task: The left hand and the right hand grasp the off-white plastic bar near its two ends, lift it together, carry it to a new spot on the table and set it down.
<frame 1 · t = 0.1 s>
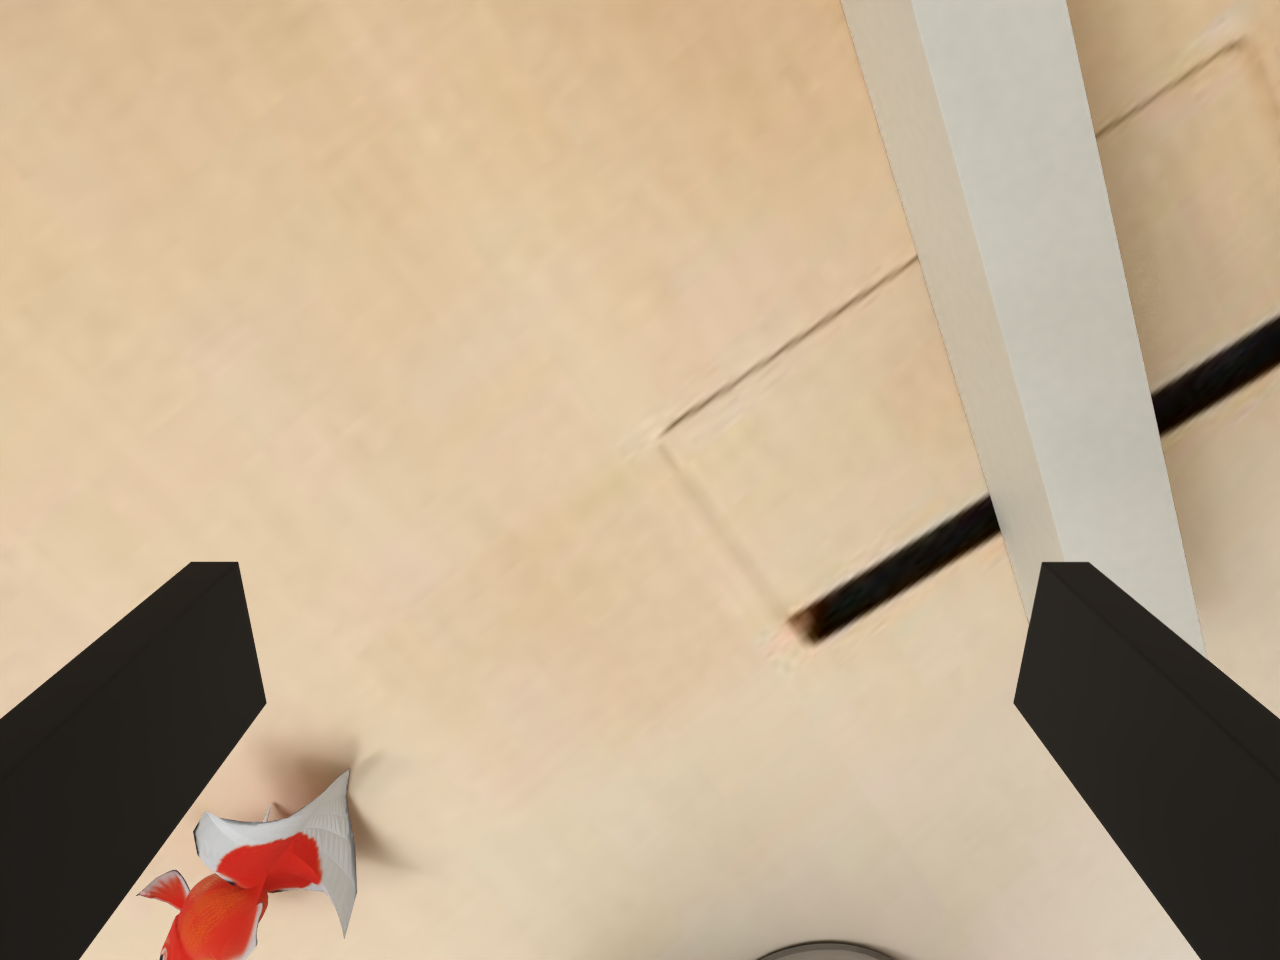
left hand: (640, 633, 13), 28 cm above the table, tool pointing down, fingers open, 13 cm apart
fish: (284, 820, 50), on the table
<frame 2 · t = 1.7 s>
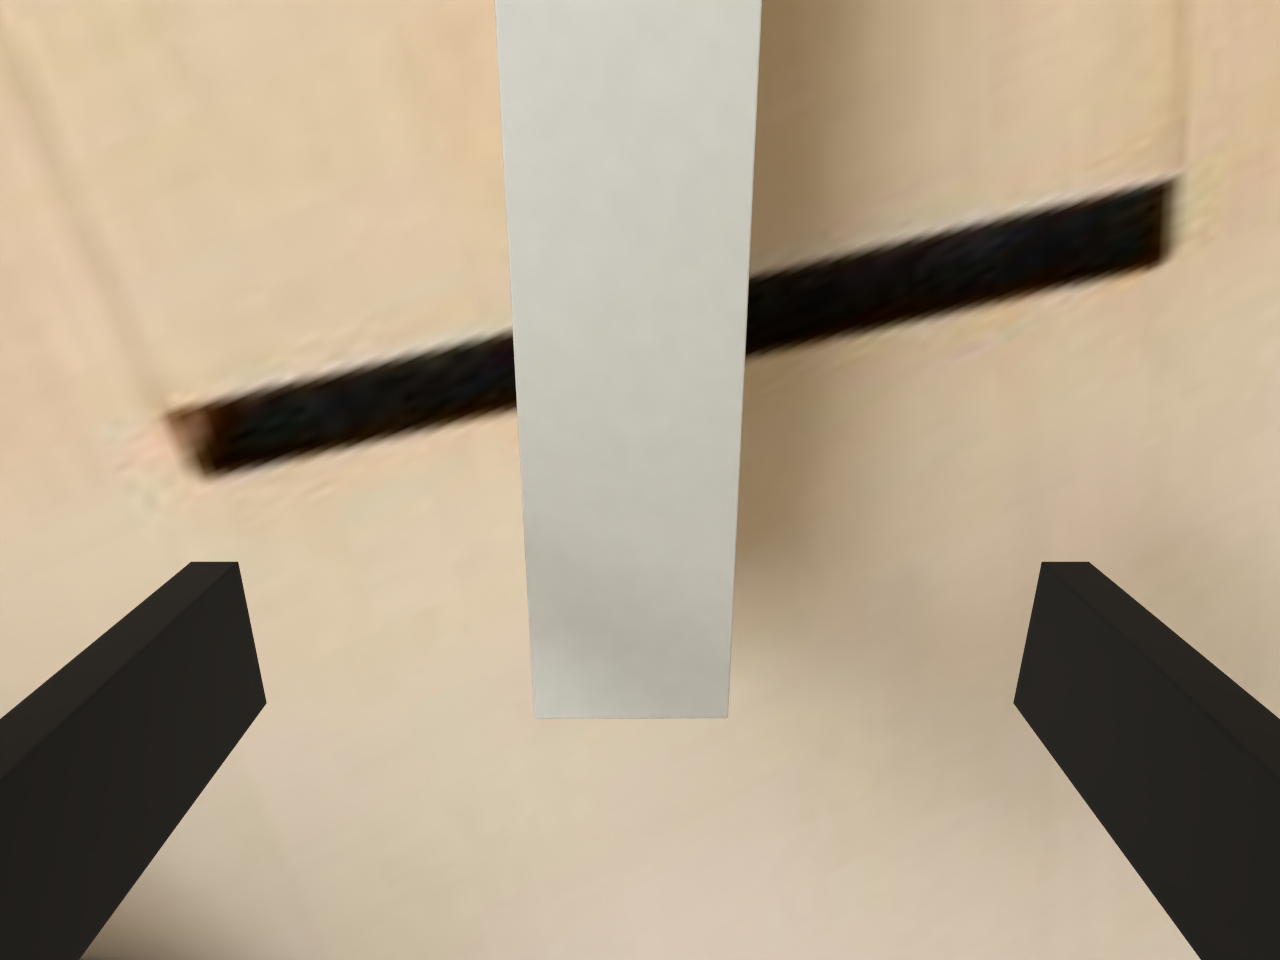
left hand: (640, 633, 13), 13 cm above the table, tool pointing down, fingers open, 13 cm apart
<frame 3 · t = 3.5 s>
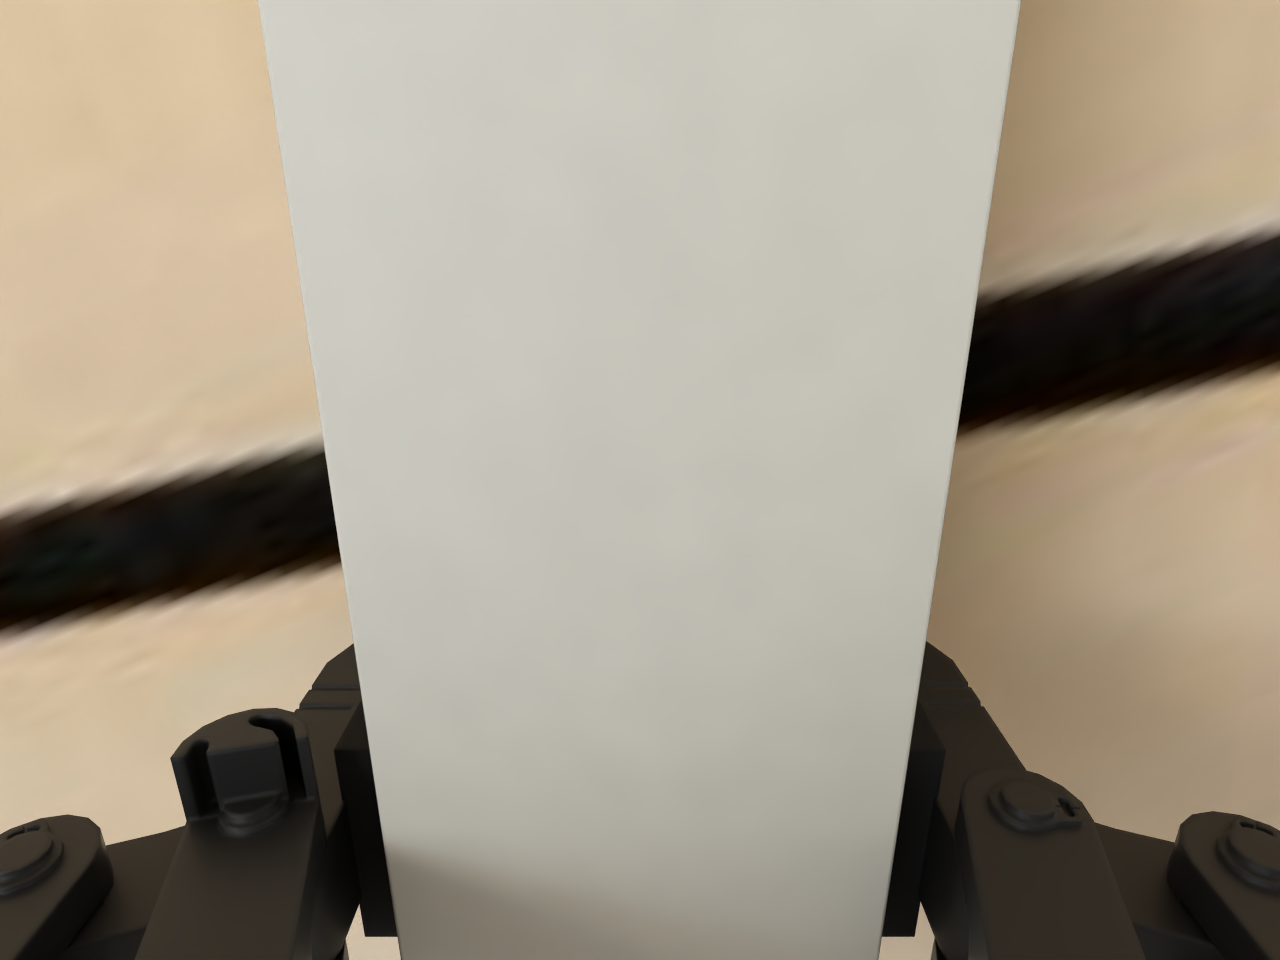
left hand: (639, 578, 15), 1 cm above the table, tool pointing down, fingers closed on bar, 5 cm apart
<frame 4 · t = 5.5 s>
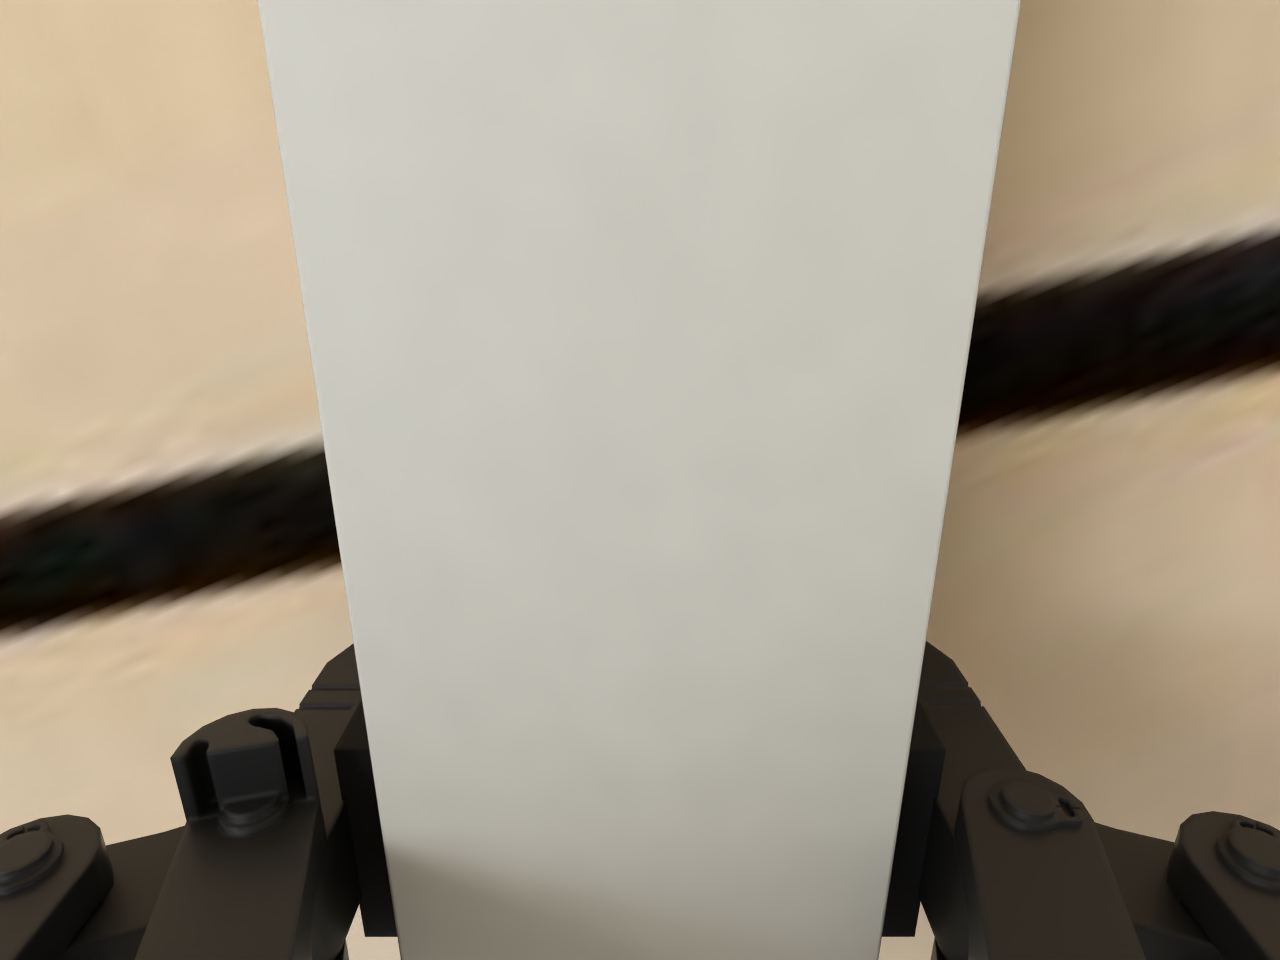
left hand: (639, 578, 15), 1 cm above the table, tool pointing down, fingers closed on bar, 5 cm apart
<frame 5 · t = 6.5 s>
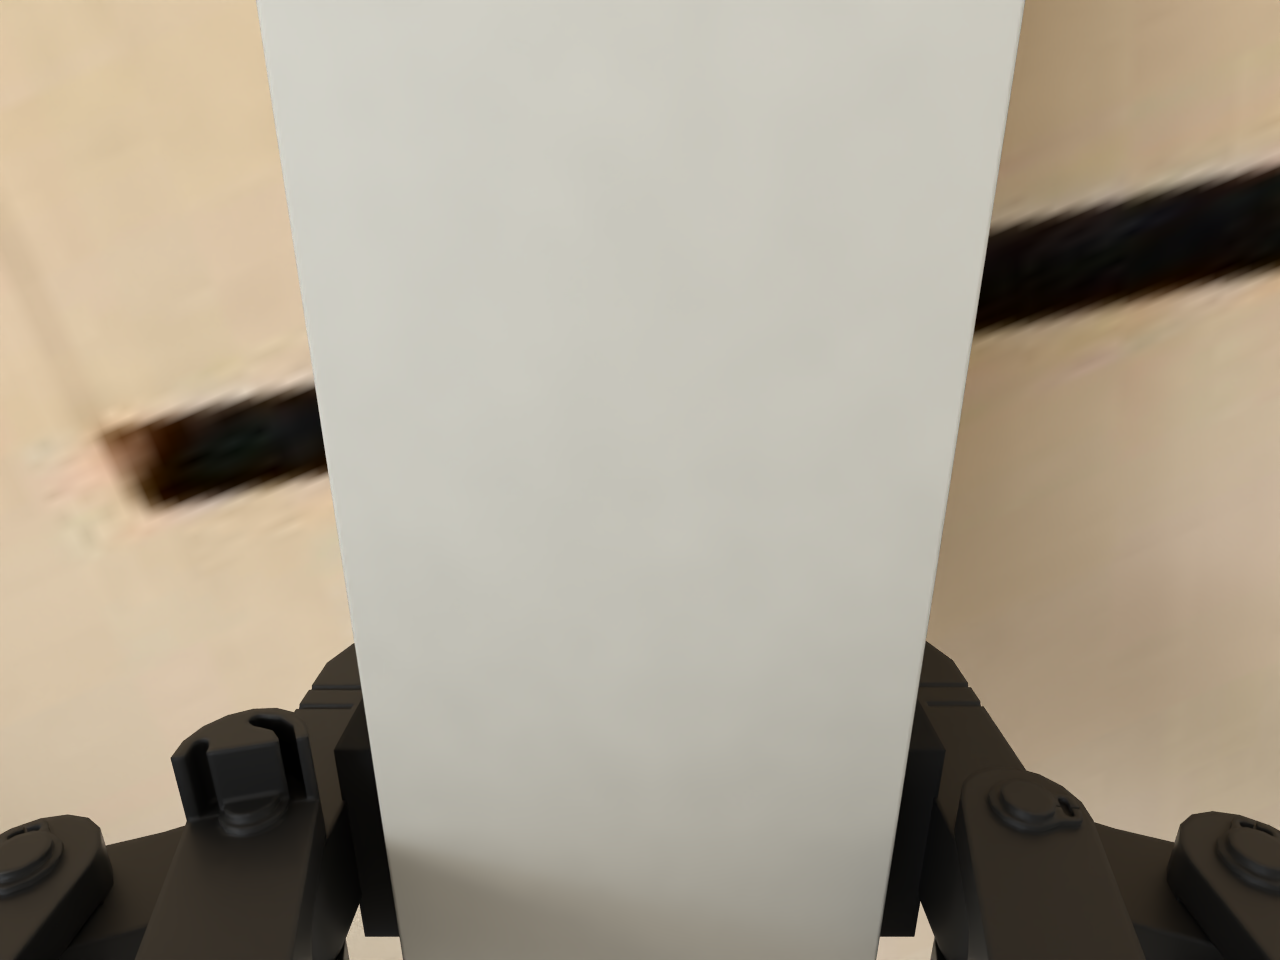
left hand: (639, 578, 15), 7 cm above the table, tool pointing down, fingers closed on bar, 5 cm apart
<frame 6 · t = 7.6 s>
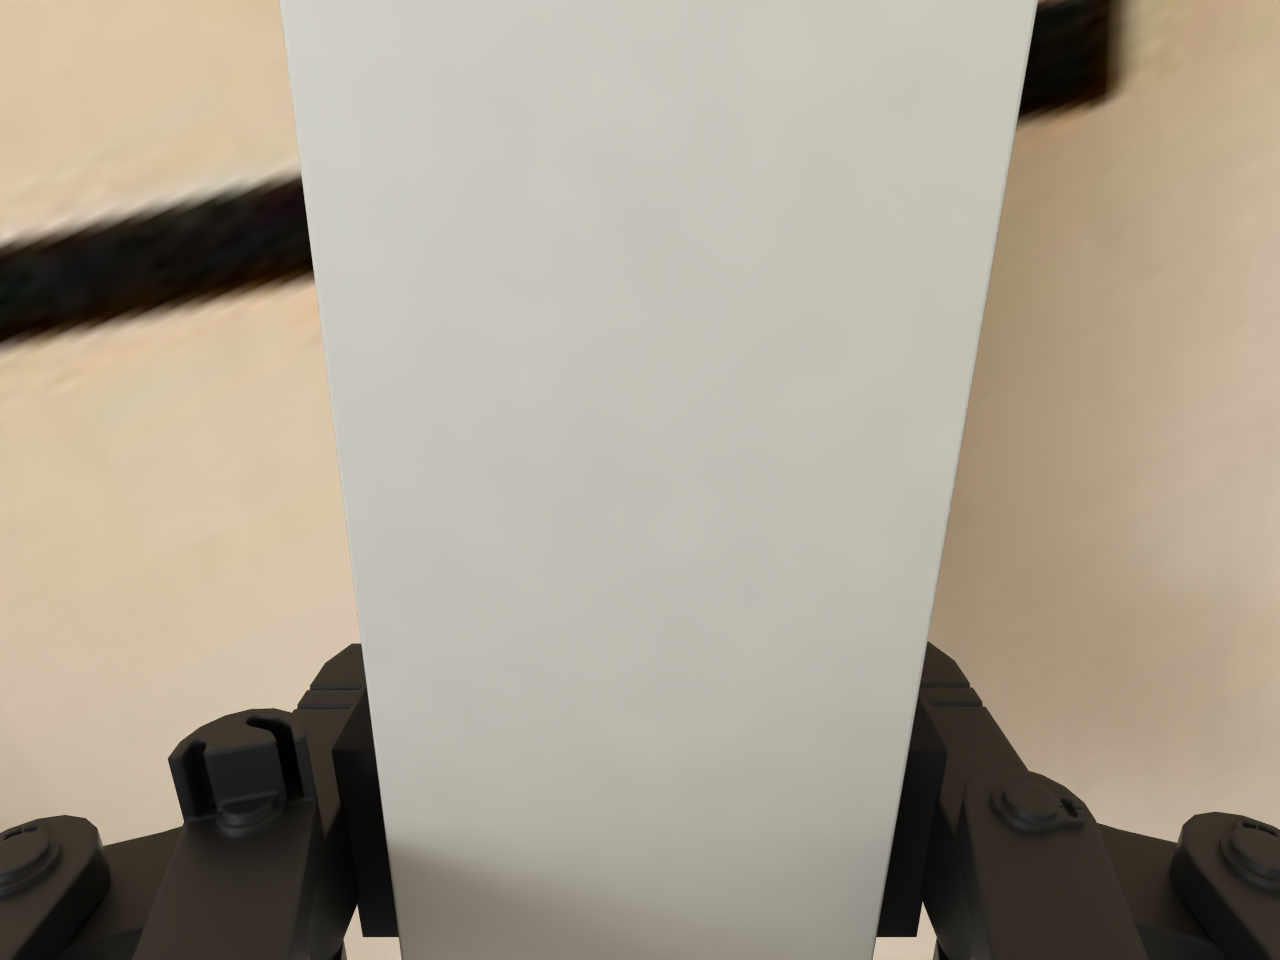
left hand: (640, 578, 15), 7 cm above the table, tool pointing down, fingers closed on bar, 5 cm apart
when the left hand's fingers open (2 cm above the table, at t = 9.8 s): bar drops 1 cm, on the table.
when the right hand's fingers open (4 cm above the table, at t = 10.0 s): bar stays where it is, on the table.
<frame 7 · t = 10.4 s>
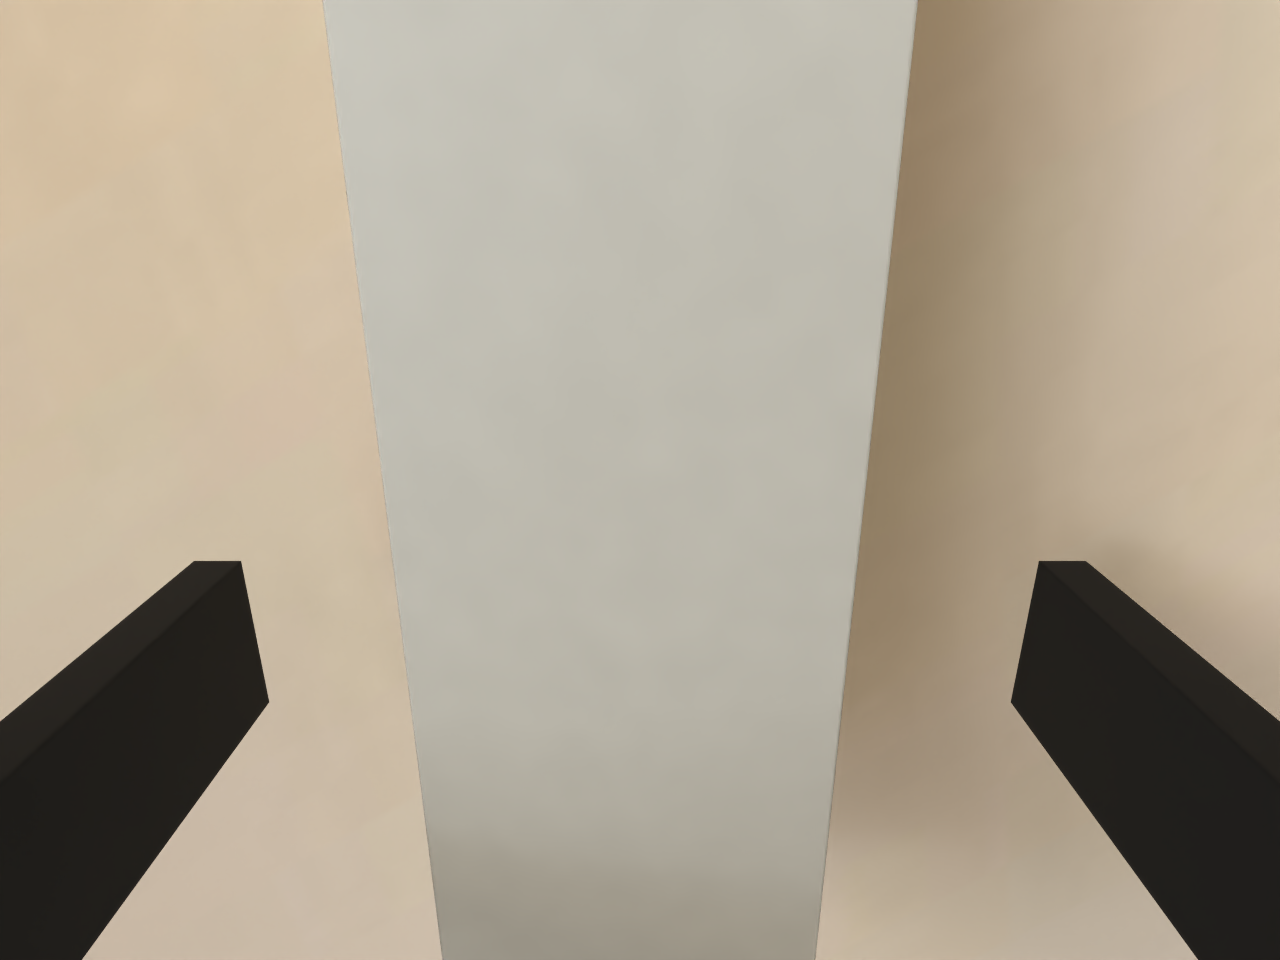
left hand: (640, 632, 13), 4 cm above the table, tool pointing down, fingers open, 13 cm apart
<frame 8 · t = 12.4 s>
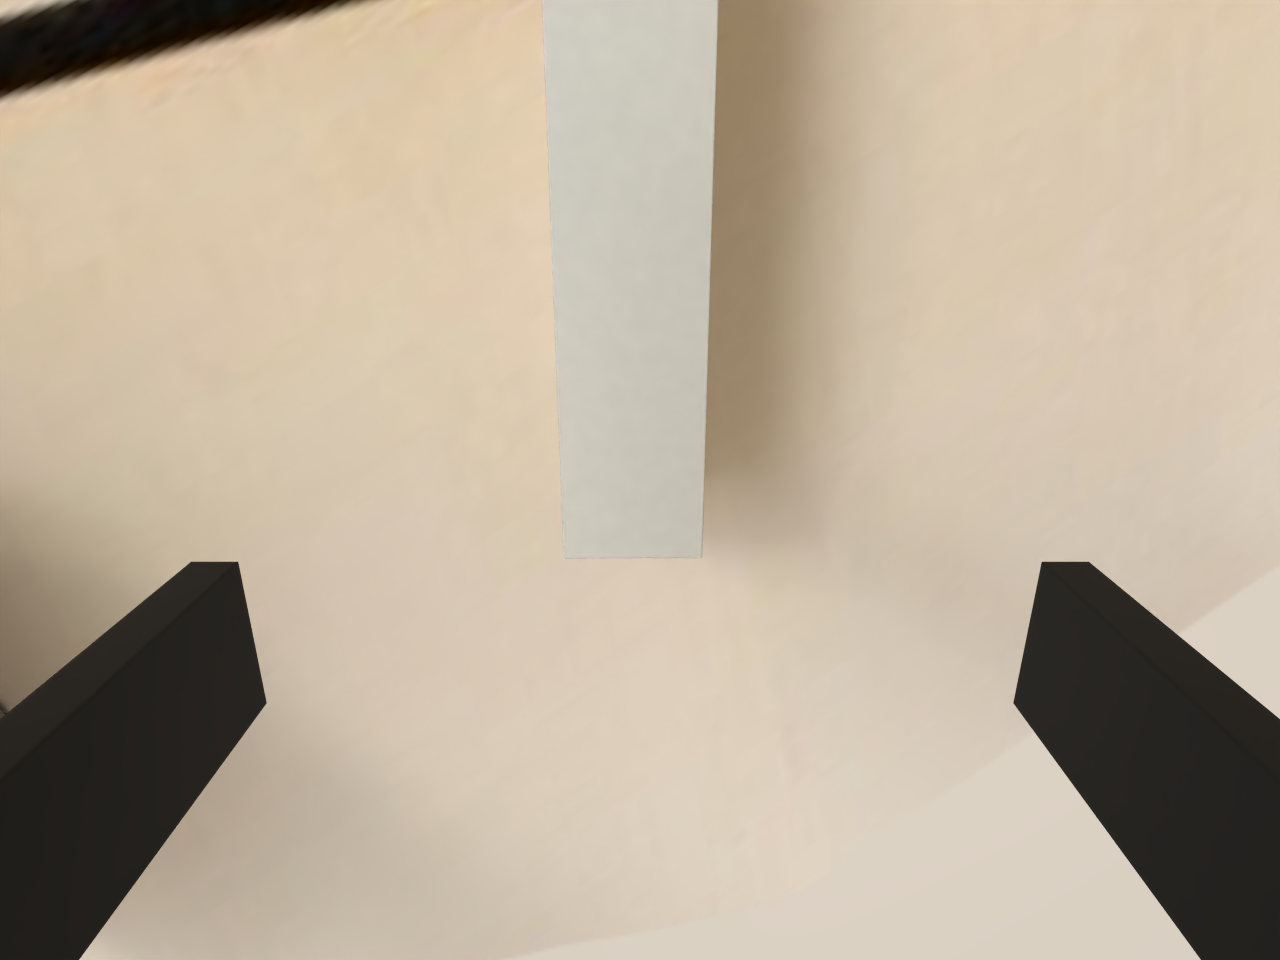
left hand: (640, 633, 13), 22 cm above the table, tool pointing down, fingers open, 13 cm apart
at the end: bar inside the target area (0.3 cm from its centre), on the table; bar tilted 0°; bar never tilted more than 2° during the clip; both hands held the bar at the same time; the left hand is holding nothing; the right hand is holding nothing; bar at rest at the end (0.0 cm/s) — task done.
